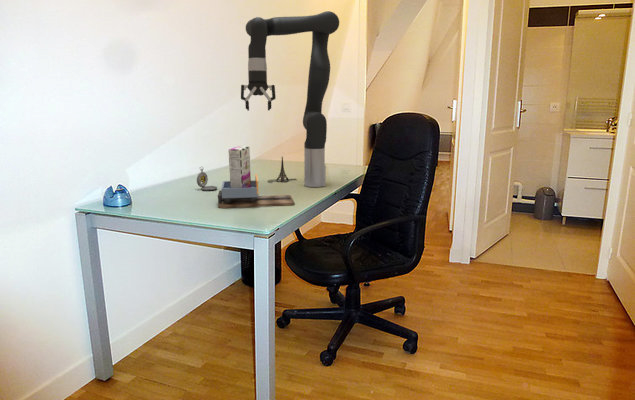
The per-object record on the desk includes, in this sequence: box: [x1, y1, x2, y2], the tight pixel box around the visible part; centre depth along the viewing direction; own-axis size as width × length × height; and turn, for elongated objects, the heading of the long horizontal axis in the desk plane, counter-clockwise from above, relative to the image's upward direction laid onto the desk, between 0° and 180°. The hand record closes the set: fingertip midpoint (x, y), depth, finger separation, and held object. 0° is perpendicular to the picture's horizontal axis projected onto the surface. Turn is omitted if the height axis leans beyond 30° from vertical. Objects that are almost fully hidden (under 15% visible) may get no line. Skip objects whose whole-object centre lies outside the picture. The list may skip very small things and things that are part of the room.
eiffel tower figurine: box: [267, 156, 298, 184], centre depth 217 cm, size 15×10×13 cm
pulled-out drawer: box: [220, 173, 260, 203], centre depth 171 cm, size 13×15×8 cm
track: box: [217, 190, 296, 209], centre depth 173 cm, size 28×14×4 cm, turn 99°
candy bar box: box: [228, 145, 252, 188], centre depth 169 cm, size 11×5×16 cm, turn 172°
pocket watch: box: [196, 167, 218, 192], centre depth 196 cm, size 8×8×10 cm
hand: (258, 110), depth 188 cm, fingers open, 8 cm apart
